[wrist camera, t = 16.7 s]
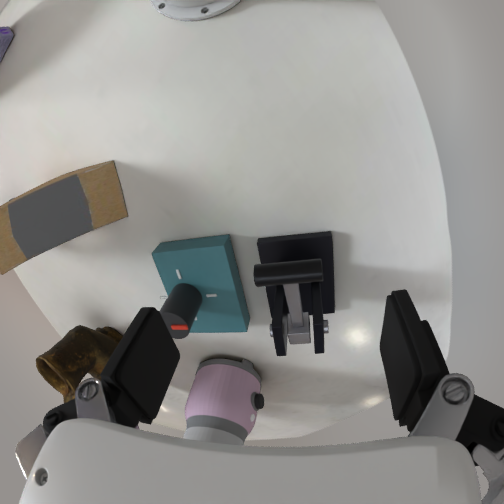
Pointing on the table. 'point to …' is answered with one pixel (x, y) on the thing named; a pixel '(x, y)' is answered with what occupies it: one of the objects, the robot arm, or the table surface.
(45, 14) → the table surface
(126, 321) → the table surface
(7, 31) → the cake pan box
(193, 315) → the knob
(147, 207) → the table surface
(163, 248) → the teal dial base
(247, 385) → the blender
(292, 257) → the black lever stand
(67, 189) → the sandwich container
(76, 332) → the pottery vessel
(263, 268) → the press lever
